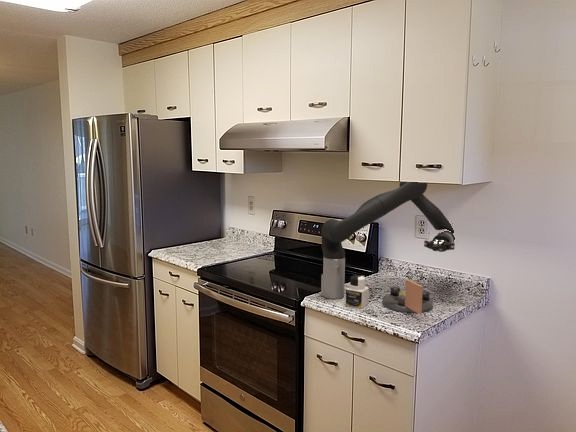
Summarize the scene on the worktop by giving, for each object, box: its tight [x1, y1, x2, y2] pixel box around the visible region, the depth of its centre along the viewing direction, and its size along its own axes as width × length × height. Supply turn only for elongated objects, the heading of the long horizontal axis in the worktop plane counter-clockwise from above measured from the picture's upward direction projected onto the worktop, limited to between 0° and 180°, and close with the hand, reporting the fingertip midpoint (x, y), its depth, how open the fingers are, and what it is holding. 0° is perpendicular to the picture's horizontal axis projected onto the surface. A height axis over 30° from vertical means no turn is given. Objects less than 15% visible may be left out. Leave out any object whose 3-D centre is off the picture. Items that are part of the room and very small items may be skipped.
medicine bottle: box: [345, 274, 370, 309], centre depth 189 cm, size 7×7×12 cm
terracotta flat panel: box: [398, 278, 424, 315], centre depth 178 cm, size 14×4×11 cm, turn 18°
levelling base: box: [381, 286, 434, 314], centre depth 189 cm, size 20×20×5 cm
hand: (434, 248), depth 186 cm, fingers closed
